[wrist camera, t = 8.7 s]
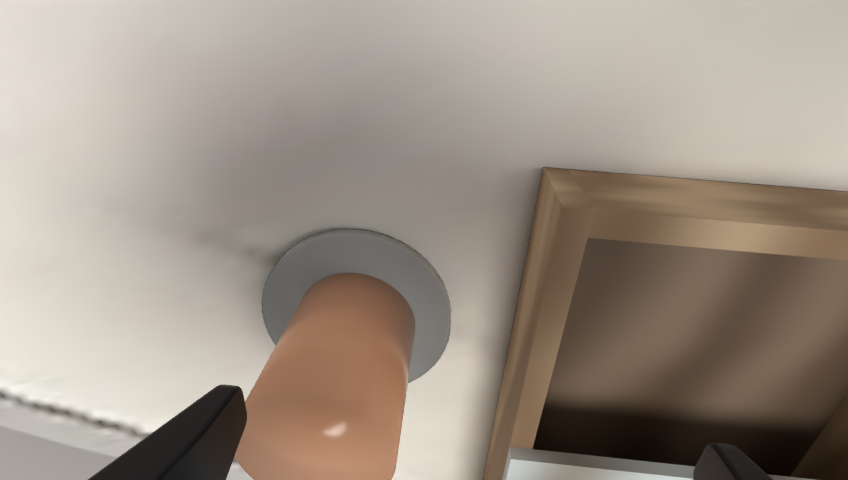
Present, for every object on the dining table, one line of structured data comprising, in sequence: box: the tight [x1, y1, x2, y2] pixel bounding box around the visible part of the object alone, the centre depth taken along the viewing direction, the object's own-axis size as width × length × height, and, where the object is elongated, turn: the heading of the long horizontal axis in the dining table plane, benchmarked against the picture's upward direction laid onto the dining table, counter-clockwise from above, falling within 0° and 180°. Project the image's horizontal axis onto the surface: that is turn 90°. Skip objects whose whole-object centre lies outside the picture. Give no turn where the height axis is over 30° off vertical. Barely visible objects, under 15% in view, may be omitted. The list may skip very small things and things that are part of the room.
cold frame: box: [483, 167, 848, 480], centre depth 20 cm, size 17×22×5 cm
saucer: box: [262, 229, 451, 383], centre depth 21 cm, size 9×9×1 cm
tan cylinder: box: [235, 273, 415, 480], centre depth 18 cm, size 6×6×7 cm
